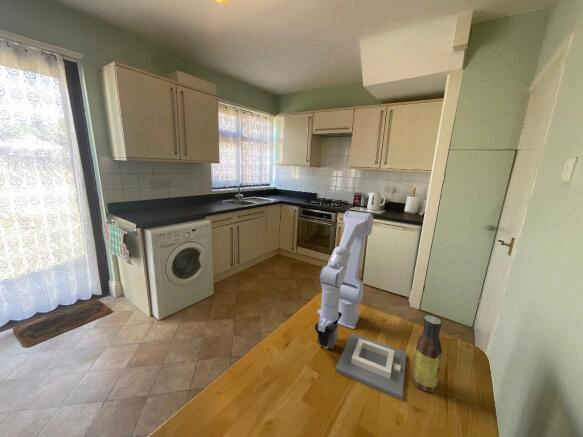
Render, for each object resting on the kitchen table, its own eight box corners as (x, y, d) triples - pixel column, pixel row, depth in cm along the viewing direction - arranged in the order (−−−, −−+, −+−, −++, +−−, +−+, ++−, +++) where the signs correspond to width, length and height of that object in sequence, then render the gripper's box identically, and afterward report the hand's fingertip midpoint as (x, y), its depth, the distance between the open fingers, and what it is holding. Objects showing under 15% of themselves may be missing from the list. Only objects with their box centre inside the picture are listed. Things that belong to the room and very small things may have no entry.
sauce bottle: (440, 395, 63) (452, 330, 60) (415, 390, 65) (425, 326, 61) (431, 375, 70) (441, 315, 66) (408, 371, 71) (417, 311, 67)
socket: (351, 336, 86) (352, 328, 85) (405, 355, 77) (407, 346, 77) (335, 371, 70) (336, 361, 69) (401, 400, 62) (403, 390, 61)
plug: (321, 338, 84) (323, 320, 82) (336, 344, 81) (338, 325, 80) (317, 346, 80) (318, 327, 79) (332, 352, 77) (334, 332, 76)
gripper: (326, 289, 86) (324, 323, 88) (310, 308, 73) (307, 347, 76) (345, 294, 82) (342, 329, 85) (331, 315, 70) (328, 355, 72)
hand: (327, 338), depth 80 cm, fingers open, 7 cm apart
